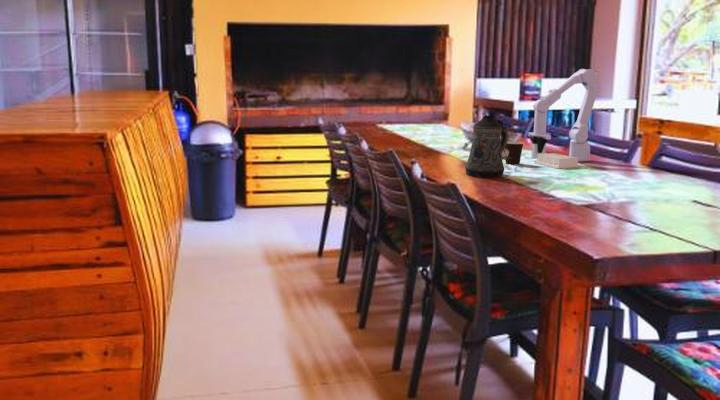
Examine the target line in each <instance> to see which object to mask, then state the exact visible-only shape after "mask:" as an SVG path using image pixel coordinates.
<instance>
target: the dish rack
mask: <svg viewBox="0 0 720 400" xmlns="http://www.w3.org/2000/svg"><path fill="white" fill-rule="evenodd" d="M536 159H537V160H536V161H534V164H536V165H540V166H543V165H544V167H547V166H549V167H548V168H552V167H553V169H556V168H557V170H558V169H560V168H561V169H572V168H573V167H574V168H580V167H581V166H580V164H578V163H579V162H578V157H573V156H569V155H568V154H564V155H563V154H562V153H557V152H552V153H545V154H538V155H537V158H536ZM574 168H573V169H574Z"/></svg>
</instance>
